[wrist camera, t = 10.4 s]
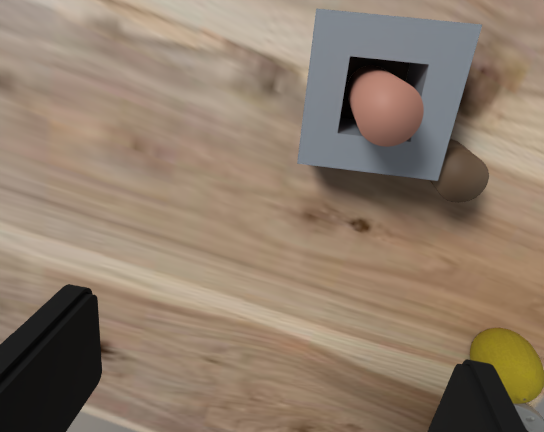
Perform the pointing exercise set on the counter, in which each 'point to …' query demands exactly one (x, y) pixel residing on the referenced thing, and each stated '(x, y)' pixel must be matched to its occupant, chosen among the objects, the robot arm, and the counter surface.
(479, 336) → the lemon
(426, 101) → the hole block
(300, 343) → the counter surface
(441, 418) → the robot arm
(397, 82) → the long pin
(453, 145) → the short pin
